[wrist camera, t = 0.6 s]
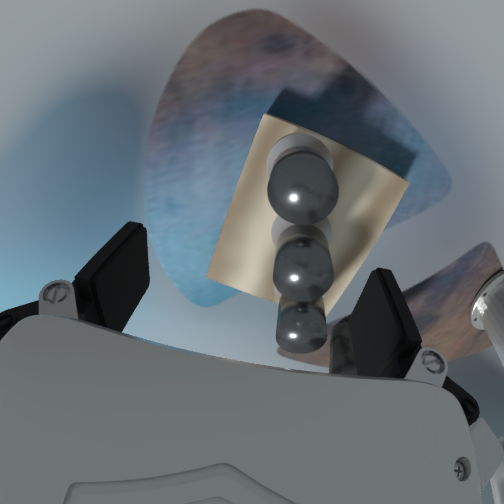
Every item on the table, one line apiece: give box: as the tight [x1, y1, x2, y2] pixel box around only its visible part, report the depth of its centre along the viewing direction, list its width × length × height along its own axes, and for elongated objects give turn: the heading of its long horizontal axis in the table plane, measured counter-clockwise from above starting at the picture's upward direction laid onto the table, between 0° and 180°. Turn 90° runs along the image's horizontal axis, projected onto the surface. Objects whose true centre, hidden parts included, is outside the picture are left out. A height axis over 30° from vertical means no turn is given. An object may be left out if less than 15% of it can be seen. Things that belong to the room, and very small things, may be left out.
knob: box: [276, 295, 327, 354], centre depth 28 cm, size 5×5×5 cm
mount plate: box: [206, 113, 409, 317], centre depth 30 cm, size 16×20×3 cm
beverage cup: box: [329, 321, 358, 376], centre depth 31 cm, size 7×7×20 cm
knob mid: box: [273, 224, 334, 301], centre depth 24 cm, size 5×5×5 cm
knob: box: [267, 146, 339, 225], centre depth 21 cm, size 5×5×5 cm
